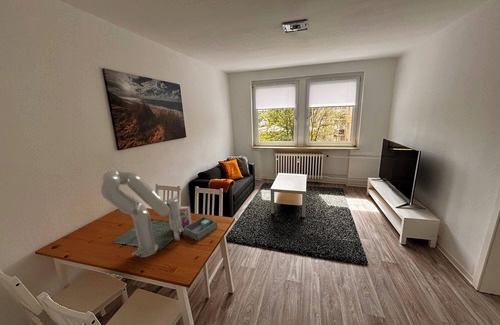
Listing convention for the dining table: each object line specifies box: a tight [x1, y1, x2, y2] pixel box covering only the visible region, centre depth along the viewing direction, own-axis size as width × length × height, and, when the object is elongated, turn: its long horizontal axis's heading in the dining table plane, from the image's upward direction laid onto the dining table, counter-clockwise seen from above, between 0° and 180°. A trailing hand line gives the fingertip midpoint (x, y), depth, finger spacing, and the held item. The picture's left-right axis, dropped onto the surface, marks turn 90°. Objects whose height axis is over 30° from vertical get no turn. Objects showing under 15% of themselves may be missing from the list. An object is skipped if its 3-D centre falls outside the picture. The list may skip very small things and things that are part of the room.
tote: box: [183, 216, 218, 242], centre depth 154 cm, size 20×16×6 cm
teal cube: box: [201, 219, 210, 229], centre depth 157 cm, size 5×5×5 cm
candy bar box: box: [179, 205, 193, 228], centre depth 161 cm, size 11×5×16 cm, turn 84°
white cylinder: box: [173, 229, 181, 241], centre depth 146 cm, size 5×5×7 cm
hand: (178, 236), depth 147 cm, fingers open, 8 cm apart
